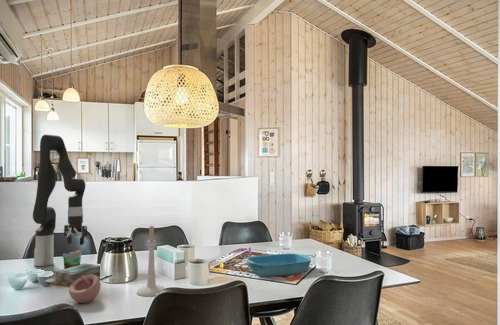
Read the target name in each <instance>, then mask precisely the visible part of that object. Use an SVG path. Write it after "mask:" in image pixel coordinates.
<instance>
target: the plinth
mask: <svg viewBox="0 0 500 325" xmlns="http://www.w3.org/2000/svg"><path fill="white" fill-rule="evenodd" d="M101 265H102V264H95V263H94V264H93V263H85V262H84V263H83V262H82V263H80V265H76V266H73V267H70V268H67V269H64V268H63V269H60V270H57V271H55V276H54V277H55V279H54V281H53V282H52V284H53V285H59V286H65V287H70V286H71V284H72V283H73V282H74V281H76V280H77V279H78V278H80V277H81V276H82V275H83V276H84V275H90V274H91V275H95V276H97V277H98V279H99V281H100V266H101ZM52 284H51V285H52Z"/></svg>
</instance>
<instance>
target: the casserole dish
mask: <svg viewBox="0 0 500 325" xmlns="http://www.w3.org/2000/svg"><path fill="white" fill-rule="evenodd" d="M245 261H246V263H248V267H249V270H251V271H252V272H253V273H255V274H256V275H258V276H261V277H277V276H278V277H279V276H285V275H286V276H287V275H296V274H302V273H306V272H307V271H308V269H309V267H310V264H311V262H312V260H311V257H310V256H308V255H304V254H299V253H292V252H291V253H289V252H288V253H278V254H275V253H274V254H266V255H265V254H264V255H254V256H249V257H247V258H246V260H245Z"/></svg>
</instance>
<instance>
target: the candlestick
mask: <svg viewBox="0 0 500 325" xmlns="http://www.w3.org/2000/svg"><path fill="white" fill-rule="evenodd" d="M154 228H155V226H154V225H152V224H150V226H149V228H148V229H149V230H148V231H149V232H148V236H149V238H148V240H147V243H148V246H149V249H148V266H147V267H148V268H147V283H146V285H143V286H141V287H139V288H138V289H136V295H138V296H139V297H148V298H149V297H156V294H157V293H159V292H160V291H161V290H163V289H165V288H166V287H165V286H163V285H160V284H157V283H156V270H155V268H156V267H155V248H154V246H155V242H156V240H155V237H154V236H155V231H154V230H155V229H154Z"/></svg>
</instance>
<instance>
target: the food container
mask: <svg viewBox="0 0 500 325" xmlns="http://www.w3.org/2000/svg"><path fill="white" fill-rule="evenodd" d="M82 255H83V251H82V249H80V248H77V249H76V250H75V251H70V252H68V253H64V252H63V254H62V258H63V269H67V268H70V267H73V266H76V265H80V264H81V259H82V258H81V257H82Z"/></svg>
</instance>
